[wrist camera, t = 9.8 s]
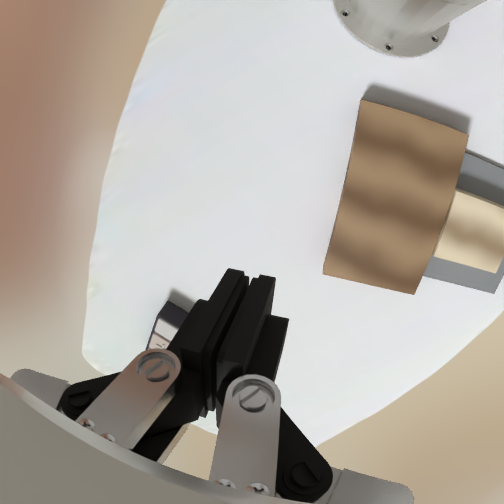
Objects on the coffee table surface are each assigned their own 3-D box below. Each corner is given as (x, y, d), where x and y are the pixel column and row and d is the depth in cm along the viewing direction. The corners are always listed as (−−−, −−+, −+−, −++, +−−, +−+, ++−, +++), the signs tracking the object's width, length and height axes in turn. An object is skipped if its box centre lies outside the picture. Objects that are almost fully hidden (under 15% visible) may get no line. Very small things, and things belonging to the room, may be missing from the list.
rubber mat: (459, 150, 26) (460, 150, 26) (536, 186, 24) (538, 187, 24) (418, 273, 34) (418, 274, 34) (492, 292, 32) (493, 293, 32)
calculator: (140, 360, 52) (155, 316, 43) (151, 345, 55) (168, 299, 47) (191, 390, 52) (219, 354, 43) (200, 373, 56) (228, 334, 47)
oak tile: (450, 185, 28) (456, 191, 26) (512, 209, 26) (519, 215, 24) (429, 248, 32) (433, 256, 30) (490, 265, 30) (495, 273, 28)
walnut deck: (360, 100, 27) (362, 99, 25) (461, 132, 25) (468, 135, 23) (323, 265, 37) (322, 274, 35) (411, 285, 35) (414, 294, 33)
